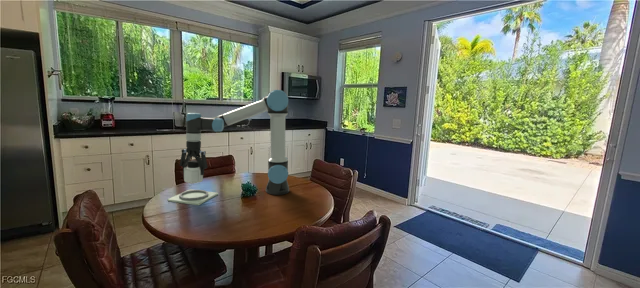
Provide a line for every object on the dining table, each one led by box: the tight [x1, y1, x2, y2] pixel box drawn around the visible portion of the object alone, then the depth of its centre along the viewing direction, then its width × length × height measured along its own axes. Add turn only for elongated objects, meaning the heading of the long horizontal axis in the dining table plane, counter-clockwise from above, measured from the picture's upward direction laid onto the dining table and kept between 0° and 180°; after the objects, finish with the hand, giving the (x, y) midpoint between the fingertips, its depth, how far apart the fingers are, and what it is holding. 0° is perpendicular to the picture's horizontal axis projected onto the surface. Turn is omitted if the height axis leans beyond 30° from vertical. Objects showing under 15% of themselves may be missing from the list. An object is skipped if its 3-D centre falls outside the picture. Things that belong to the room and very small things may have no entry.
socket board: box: [167, 188, 219, 206], centre depth 157 cm, size 19×19×2 cm
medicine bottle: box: [183, 160, 204, 185], centre depth 155 cm, size 7×7×12 cm
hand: (193, 179), depth 155 cm, fingers closed on medicine bottle, 9 cm apart
